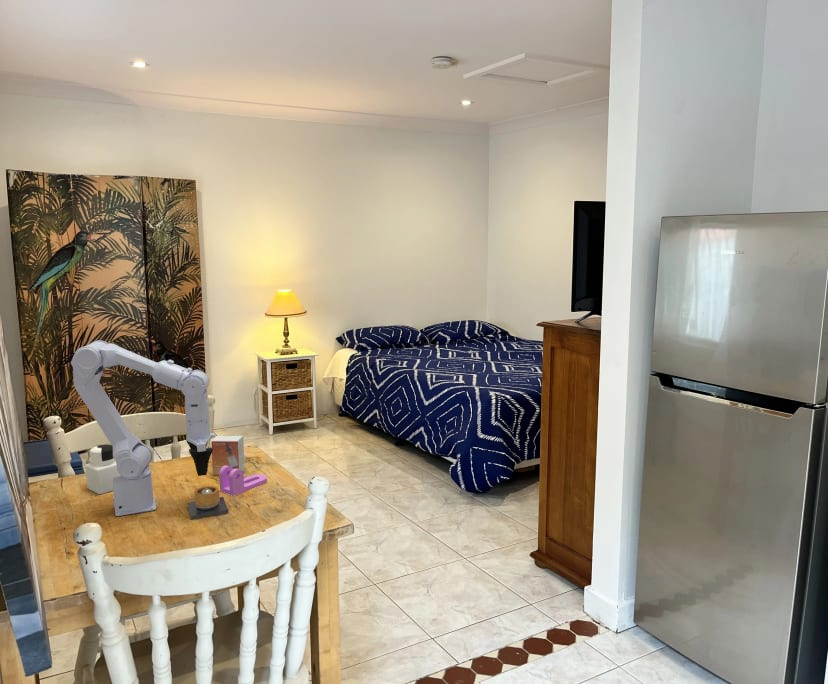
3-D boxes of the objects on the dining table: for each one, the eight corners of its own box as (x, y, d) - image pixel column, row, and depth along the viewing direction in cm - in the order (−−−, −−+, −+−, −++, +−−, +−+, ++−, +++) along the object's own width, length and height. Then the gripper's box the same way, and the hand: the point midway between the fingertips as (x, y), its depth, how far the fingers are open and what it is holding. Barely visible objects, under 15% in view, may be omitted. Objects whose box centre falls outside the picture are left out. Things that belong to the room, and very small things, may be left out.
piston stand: (190, 519, 166) (189, 498, 165) (187, 506, 174) (186, 485, 173) (228, 513, 169) (227, 492, 168) (223, 500, 177) (222, 480, 176)
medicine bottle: (112, 481, 191) (108, 440, 189) (124, 487, 187) (121, 445, 185) (87, 489, 186) (82, 447, 184) (99, 495, 182) (95, 452, 180)
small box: (212, 475, 195) (210, 440, 193) (218, 468, 200) (216, 434, 199) (239, 476, 195) (237, 441, 193) (245, 469, 200) (243, 435, 198)
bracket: (233, 496, 180) (231, 471, 179) (220, 492, 183) (218, 467, 182) (270, 481, 190) (269, 458, 189) (257, 477, 194) (256, 454, 192)
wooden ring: (196, 508, 167) (195, 496, 167) (194, 499, 173) (193, 488, 172) (220, 503, 170) (220, 492, 169) (217, 495, 175) (216, 484, 174)
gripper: (217, 424, 166) (220, 477, 168) (211, 410, 179) (213, 459, 181) (187, 428, 163) (190, 481, 166) (183, 413, 176) (186, 462, 179)
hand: (200, 470), depth 173 cm, fingers open, 7 cm apart
